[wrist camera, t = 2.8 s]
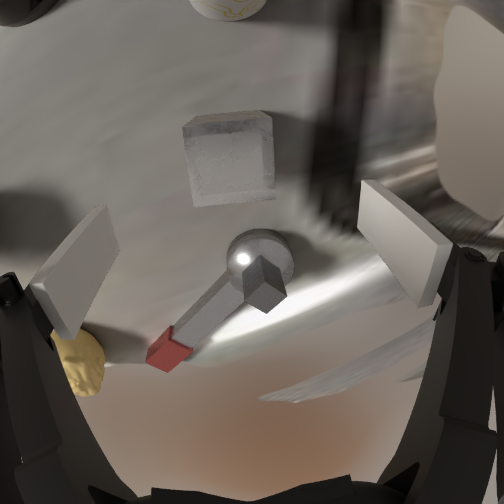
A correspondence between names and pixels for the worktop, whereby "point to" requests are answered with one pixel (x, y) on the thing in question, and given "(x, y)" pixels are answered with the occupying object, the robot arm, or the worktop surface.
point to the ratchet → (230, 294)
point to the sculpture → (81, 362)
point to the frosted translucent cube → (230, 158)
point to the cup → (227, 8)
